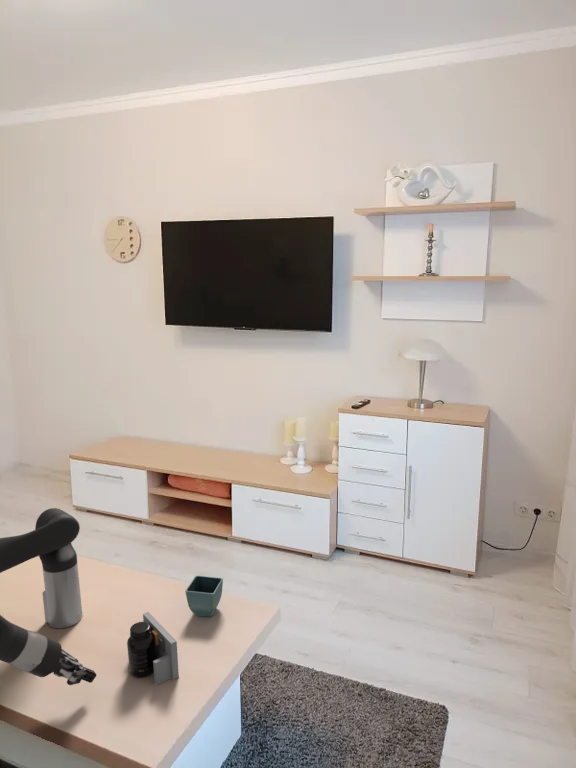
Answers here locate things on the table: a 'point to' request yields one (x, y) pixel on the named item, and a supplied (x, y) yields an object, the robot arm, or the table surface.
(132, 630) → the supplement bottle
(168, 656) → the panel
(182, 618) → the table surface
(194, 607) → the flower pot
